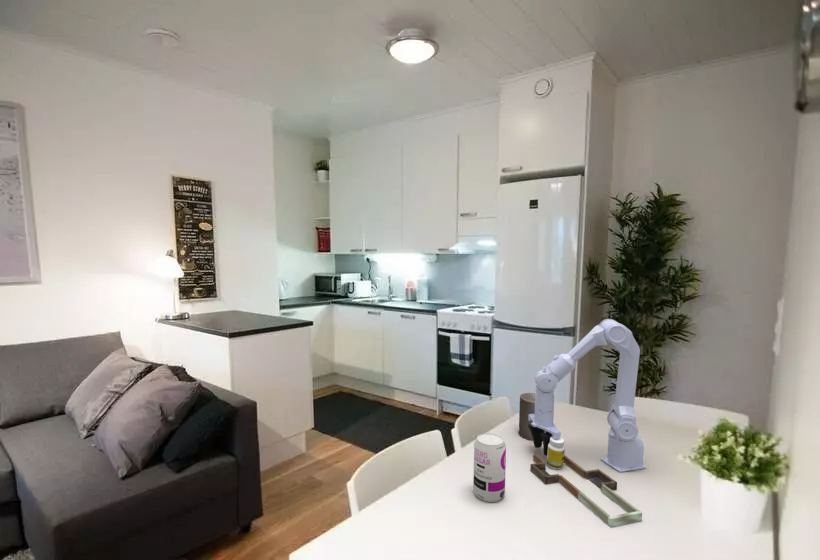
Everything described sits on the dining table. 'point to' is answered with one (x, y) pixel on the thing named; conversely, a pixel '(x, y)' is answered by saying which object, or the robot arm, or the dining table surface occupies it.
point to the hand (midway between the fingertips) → (542, 451)
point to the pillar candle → (526, 414)
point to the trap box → (600, 481)
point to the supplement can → (489, 467)
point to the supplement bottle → (555, 453)
